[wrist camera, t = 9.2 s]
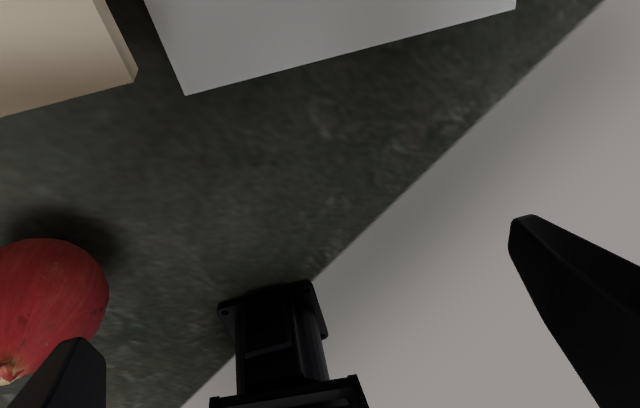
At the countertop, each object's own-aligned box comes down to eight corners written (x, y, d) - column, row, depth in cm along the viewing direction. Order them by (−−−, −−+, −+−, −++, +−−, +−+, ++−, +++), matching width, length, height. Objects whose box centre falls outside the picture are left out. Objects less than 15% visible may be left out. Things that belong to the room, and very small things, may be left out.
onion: (142, 242, 24) (116, 375, 18) (79, 295, 26) (35, 433, 19) (39, 184, 21) (-37, 322, 14) (-26, 248, 22) (-119, 398, 16)
